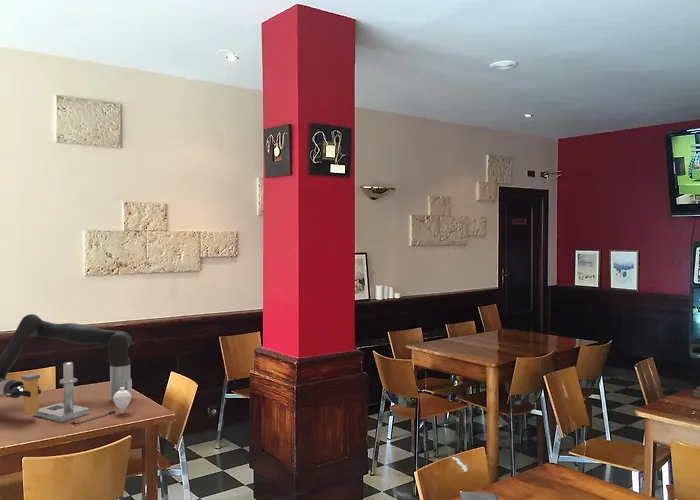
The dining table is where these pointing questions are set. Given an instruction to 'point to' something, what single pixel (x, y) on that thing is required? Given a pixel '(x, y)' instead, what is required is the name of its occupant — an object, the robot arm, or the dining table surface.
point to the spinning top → (122, 399)
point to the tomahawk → (92, 418)
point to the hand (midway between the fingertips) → (35, 393)
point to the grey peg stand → (67, 408)
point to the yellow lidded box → (31, 386)
